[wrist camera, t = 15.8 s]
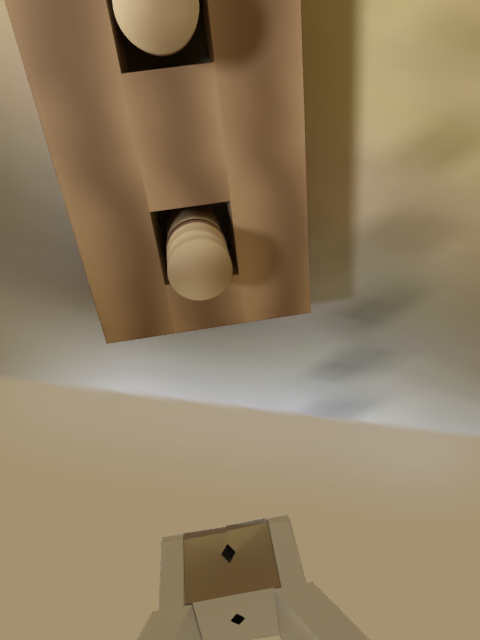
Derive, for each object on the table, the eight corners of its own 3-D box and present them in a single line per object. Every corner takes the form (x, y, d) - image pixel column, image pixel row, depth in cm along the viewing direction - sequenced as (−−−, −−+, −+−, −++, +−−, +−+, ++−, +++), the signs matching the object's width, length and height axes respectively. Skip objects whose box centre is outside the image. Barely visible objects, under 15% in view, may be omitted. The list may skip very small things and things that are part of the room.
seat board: (114, 311, 35) (106, 343, 31) (-2, -108, 23) (-39, -143, 19) (296, 284, 36) (310, 312, 32) (275, -136, 24) (295, -175, 20)
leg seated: (135, 60, 27) (122, 60, 20) (121, -18, 25) (100, -47, 18) (198, 52, 27) (206, 50, 20) (188, -25, 25) (193, -57, 18)
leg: (162, 199, 31) (162, 242, 24) (217, 195, 31) (232, 237, 25) (168, 250, 33) (170, 304, 26) (220, 246, 33) (234, 298, 27)
